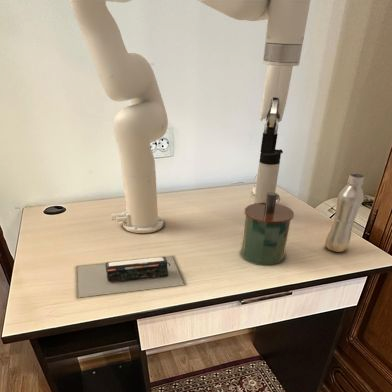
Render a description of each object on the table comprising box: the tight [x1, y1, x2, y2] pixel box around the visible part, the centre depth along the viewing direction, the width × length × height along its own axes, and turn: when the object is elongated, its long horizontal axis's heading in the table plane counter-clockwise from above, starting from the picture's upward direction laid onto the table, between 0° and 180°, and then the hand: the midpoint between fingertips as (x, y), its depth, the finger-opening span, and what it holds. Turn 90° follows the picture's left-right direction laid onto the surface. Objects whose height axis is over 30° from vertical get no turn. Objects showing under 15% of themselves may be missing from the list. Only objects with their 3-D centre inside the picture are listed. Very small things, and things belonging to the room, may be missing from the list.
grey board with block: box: [77, 256, 185, 298], centre depth 90 cm, size 14×25×4 cm, turn 104°
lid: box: [243, 191, 295, 224], centre depth 92 cm, size 13×13×6 cm
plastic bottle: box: [325, 173, 365, 253], centre depth 98 cm, size 6×7×20 cm
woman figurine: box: [248, 185, 281, 204], centre depth 132 cm, size 12×4×18 cm
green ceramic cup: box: [241, 215, 292, 266], centre depth 97 cm, size 12×12×12 cm
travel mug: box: [253, 148, 284, 204], centre depth 115 cm, size 6×7×20 cm
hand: (268, 147), depth 86 cm, fingers open, 9 cm apart
